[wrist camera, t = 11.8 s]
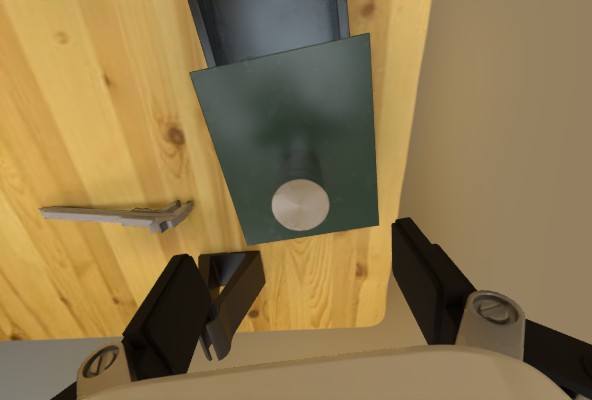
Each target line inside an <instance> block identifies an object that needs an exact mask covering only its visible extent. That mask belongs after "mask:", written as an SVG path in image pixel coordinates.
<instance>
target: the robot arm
mask: <svg viewBox="0 0 592 400" xmlns="http://www.w3.org/2000/svg"><path fill="white" fill-rule="evenodd" d="M392 270H393V274H394V277H395V279H396V281H397V283H398V285H399V287H400V289H401V291H402V293H403V295H404V297H405V299H406V301H407V303H408V305H409V307H410V309H411V311H412V313H413V315H414V317H415V319H416V321H417V323H418V325H419V327H420V329H421V331H422V333H423V335H424V337H425V339H426V341H427V343H428V345H423V346H411V347H400V348H391V349H381V350H371V351H363V352H355V353H346V354H338V355H329V356H321V357H313V358H305V359H297V360H288V361H280V362H272V363H264V364H257V365H248V366H241V367H233V368H225V369H217V370H210V371H202V372H195V373H187V371H188V368H189V365H190V362H191V359H192V356H193V354H194V351H195V348H196V345H197V342H198V339H199V337H200V334H201V331H202V328H203V325H204V322H205V320H206V317H207V314H208V311H209V308H210V305H211V302H212V298H211V294H210V292H209V290H208V288H207V286H206V284H205V282H204V280H203V278H202V276H201V274H200V272H199V269H198V267H197V265H196V263H195V261H194V259H193V257H192V256H189V255H188V254H180V255H175V256H173V257H172V258H171V260H170V261H169V263H168V265H167V266H166V268H165V269H164V271H163V272H162V274H161V275H160V277H159V278H158V280H157V281H156V283H155V285H154V286H153V288H152V289H151V291H150V292H149V294H148V295H147V297H146V298H145V300H144V301H143V303H142V304H141V306H140V308H139V309H138V311H137V312H136V314H135V315H134V317H133V318H132V320H131V321H130V323H129V324H128V326H127V328H126V329H125V331H124V332H123V334H122V335H123V336H124V338H123V340H122V341H121V342H119V341H112V342H109V343H106V344H104V345H103V346H101V347H99V348H98V349H96V350H95V351H94V352H92V354H90V355H89V356H88V357H87V358H86V359H85V361H84V362H83V363H82V364H81V366H80V368H79V370H78V373H77V381H76V382H74V383H73V384H71V385H70V386H69V387H67V388H66V389H64V390H63V391H62V392H60V393H59V394H58V395H56V396H55V397H53V398H52V399H51V400H592V345H591V344H588V343H586V342H583V341H581V340H578V339H576V338H573V337H571V336H568V335H565V334H563V333H561V332H558V331H556V330H553V329H551V328H548V327H545V326H543V325H540V324H538V323H535V322H533V321H530V320H528V319H525V315H524V312H523V311H522V309H521V307H520V306H519V305H518V304H517V303H515V302H514V301H513V300H511V299H510V298H508V297H507V296H505V295H502V294H499V293H497V292H492V291H484V290H480V291H477V290H476V289H475V288H474V286H473V285H472V284H471V283H470V282H469V280H468V279H467V278H466V277H465V276H464V274H463V273H462V272H461V271H460V270H459V268H458V267H457V266H456V265H455V264H454V263H453V261H452V260H451V259H450V258H449V257H448V255H447V254H446V253H445V252H444V251H443V250H442V248H441V247H440V246H439V245H438V244H431V243H430V241H429V240H428V239H427V238H426V236H425V235H424V234H423V233H422V232H421V230H420V229H419V228H418V227H417V225H416V224H415V223H414V222H413V220H412V219H411V218H410V217H408V218H402V219H396V221H395V223H392ZM186 373H187V374H186Z"/></svg>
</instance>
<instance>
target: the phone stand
mask: <svg viewBox="0 0 592 400" xmlns="http://www.w3.org/2000/svg"><path fill="white" fill-rule="evenodd" d="M198 269H199V272H200V274H201V276H202V278H203V280H204V282H205V284H206V286H207V288H208V290H209V292H210V294H211V298H212V302H211V305H210V308H209V311H208V314H207V317H206V320H205V322H204V325H203V328H202V331H201V334H200V337H199V340H200V343H201V346H202V348H203V351H204V353H205V356H206V358H207V359H208V360H209V361H211V360H212V357H211V354H210V352H209V347H210V345H211V344H213V347H214V349H215V352H216V355H217V357H218V360H219V361H220V360H222V359H223V358H224V357H226V356H227V354H228V353H229V351H230V348H231V341H232V338H233V335H234V333H235V332H236V330H237V328H238V327H239V325H240V323H241V322H242V320H243V319H244V317H245V315H246V314H247V312H248V310H249V309H250V307H251V306H252V304H253V302H254V301H255V299H256V297H257V296H258V294H259V292H260V291H261V289H262V288H263V286H264V284H265V279H264V273H263V268H262V263H261V258H260V253H259V251H247V252H233V253H229V254H228V253H219V254H205V255H200V256H199V257H198ZM225 285H226V286H225ZM220 286H225V287H224V289H223V290H222V292H221V293H220V295H219V290H220Z"/></svg>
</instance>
